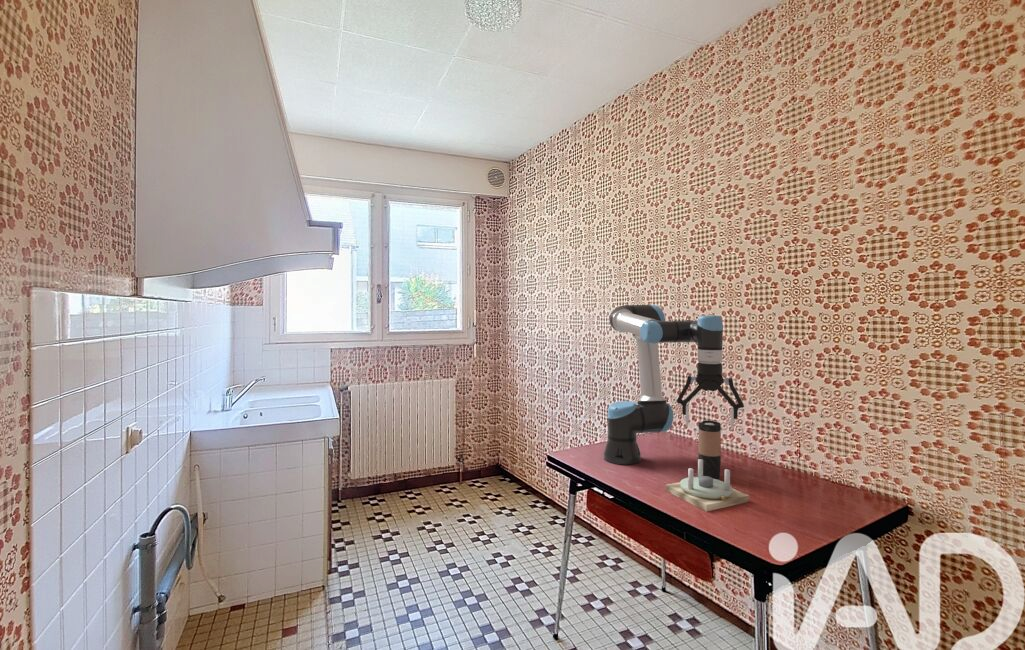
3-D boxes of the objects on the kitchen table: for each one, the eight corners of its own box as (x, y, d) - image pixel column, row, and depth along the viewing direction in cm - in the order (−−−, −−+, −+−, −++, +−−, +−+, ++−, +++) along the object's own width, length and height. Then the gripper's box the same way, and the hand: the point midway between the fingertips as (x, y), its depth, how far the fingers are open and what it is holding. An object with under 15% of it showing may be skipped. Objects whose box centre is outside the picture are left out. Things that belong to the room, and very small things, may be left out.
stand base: (665, 490, 156) (665, 481, 156) (705, 482, 163) (705, 473, 163) (707, 511, 140) (707, 501, 139) (749, 501, 146) (749, 492, 146)
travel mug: (723, 480, 165) (723, 425, 164) (700, 479, 166) (700, 424, 166) (718, 473, 172) (718, 420, 172) (696, 472, 174) (696, 420, 173)
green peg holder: (669, 484, 156) (669, 462, 156) (705, 477, 162) (705, 456, 162) (706, 502, 141) (706, 477, 141) (744, 493, 147) (744, 470, 147)
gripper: (668, 362, 152) (668, 425, 153) (753, 365, 142) (752, 433, 142) (670, 359, 159) (670, 420, 160) (751, 362, 149) (751, 427, 149)
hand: (709, 426), depth 151 cm, fingers open, 13 cm apart
